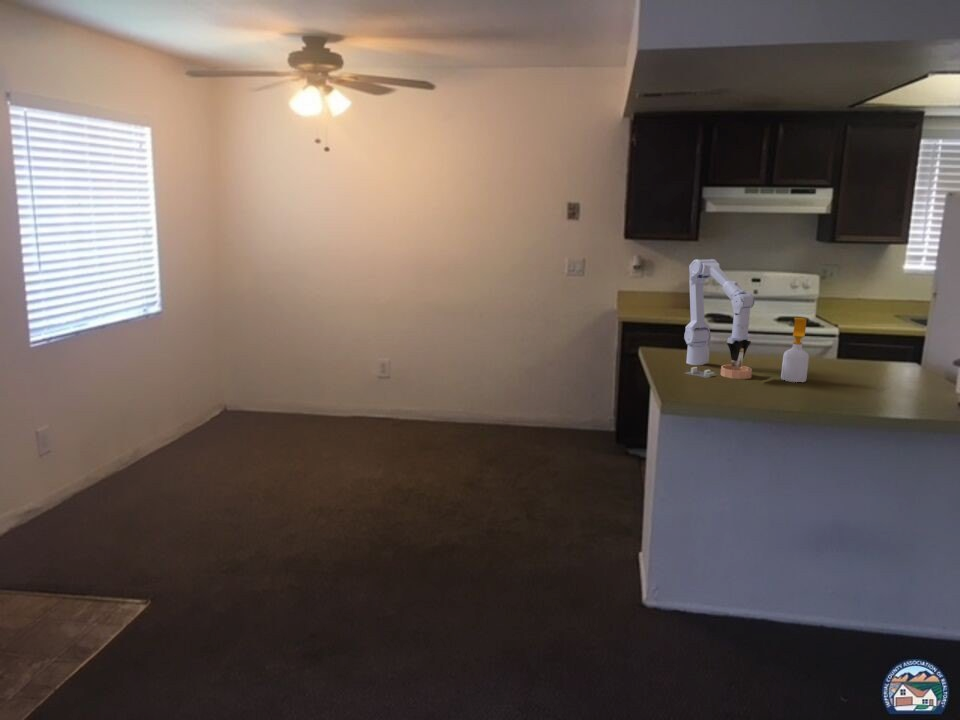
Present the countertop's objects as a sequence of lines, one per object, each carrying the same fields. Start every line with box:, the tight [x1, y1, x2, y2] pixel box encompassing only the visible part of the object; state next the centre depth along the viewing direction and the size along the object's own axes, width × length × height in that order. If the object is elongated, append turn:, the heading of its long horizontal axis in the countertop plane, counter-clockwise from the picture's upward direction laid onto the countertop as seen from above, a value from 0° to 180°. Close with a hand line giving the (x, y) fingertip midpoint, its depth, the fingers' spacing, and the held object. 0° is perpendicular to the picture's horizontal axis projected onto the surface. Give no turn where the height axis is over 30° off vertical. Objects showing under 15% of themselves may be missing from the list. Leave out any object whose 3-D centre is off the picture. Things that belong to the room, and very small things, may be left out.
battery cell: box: [730, 347, 744, 367], centre depth 280 cm, size 4×4×7 cm
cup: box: [720, 364, 753, 380], centre depth 281 cm, size 11×11×4 cm
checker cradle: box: [684, 366, 717, 379], centre depth 283 cm, size 8×10×3 cm
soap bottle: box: [780, 317, 810, 383], centre depth 278 cm, size 9×9×25 cm
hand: (737, 359), depth 280 cm, fingers closed on battery cell, 4 cm apart
